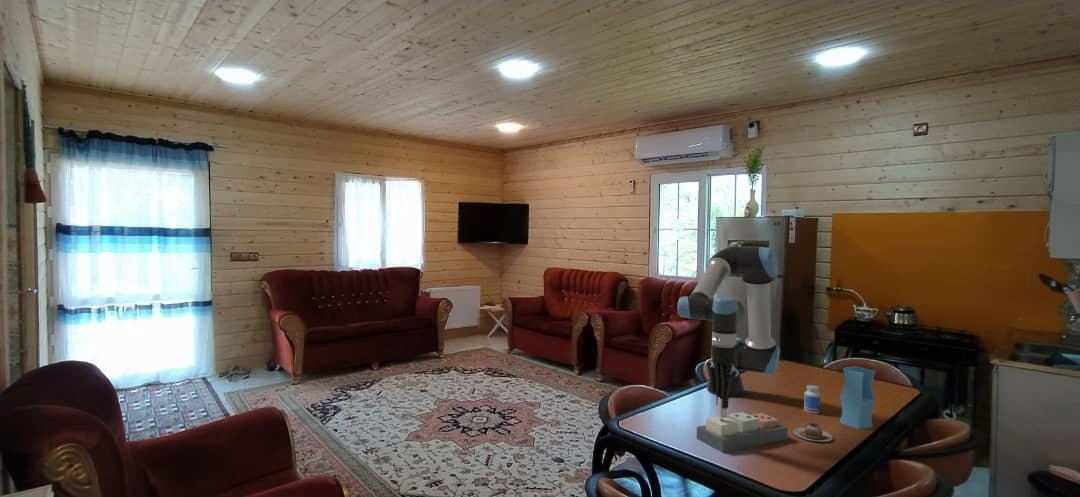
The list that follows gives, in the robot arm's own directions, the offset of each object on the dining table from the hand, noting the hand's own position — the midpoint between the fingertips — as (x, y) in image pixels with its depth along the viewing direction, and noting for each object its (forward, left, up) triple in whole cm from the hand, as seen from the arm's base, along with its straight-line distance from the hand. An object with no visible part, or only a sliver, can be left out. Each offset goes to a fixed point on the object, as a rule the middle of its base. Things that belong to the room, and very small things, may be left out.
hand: (721, 417), depth 172 cm
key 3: (0, +18, -7) cm, 19 cm away
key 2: (0, +9, -5) cm, 10 cm away
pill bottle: (-10, +55, -9) cm, 57 cm away
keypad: (0, +9, -9) cm, 13 cm away
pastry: (+7, +33, -9) cm, 35 cm away
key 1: (0, 0, -5) cm, 5 cm away
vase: (+6, +58, -9) cm, 59 cm away
